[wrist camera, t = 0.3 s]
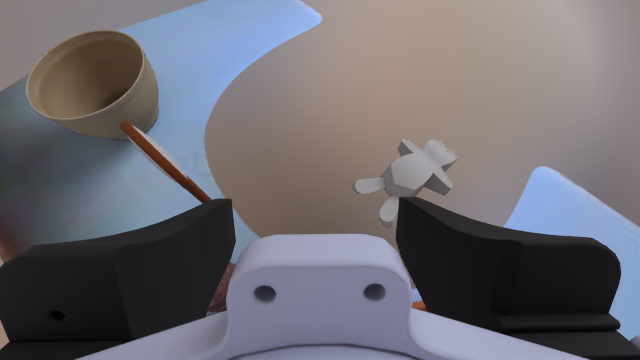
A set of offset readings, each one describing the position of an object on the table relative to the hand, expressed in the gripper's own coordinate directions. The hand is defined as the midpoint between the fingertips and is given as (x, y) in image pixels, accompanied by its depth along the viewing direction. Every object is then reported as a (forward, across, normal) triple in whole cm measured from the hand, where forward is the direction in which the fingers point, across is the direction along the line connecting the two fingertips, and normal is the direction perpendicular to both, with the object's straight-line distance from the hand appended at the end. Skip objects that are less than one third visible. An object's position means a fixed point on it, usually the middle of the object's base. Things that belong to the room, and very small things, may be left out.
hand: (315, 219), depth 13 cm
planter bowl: (+42, +31, +1) cm, 52 cm away
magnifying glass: (+30, +15, +13) cm, 36 cm away
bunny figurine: (+30, -13, +10) cm, 35 cm away
